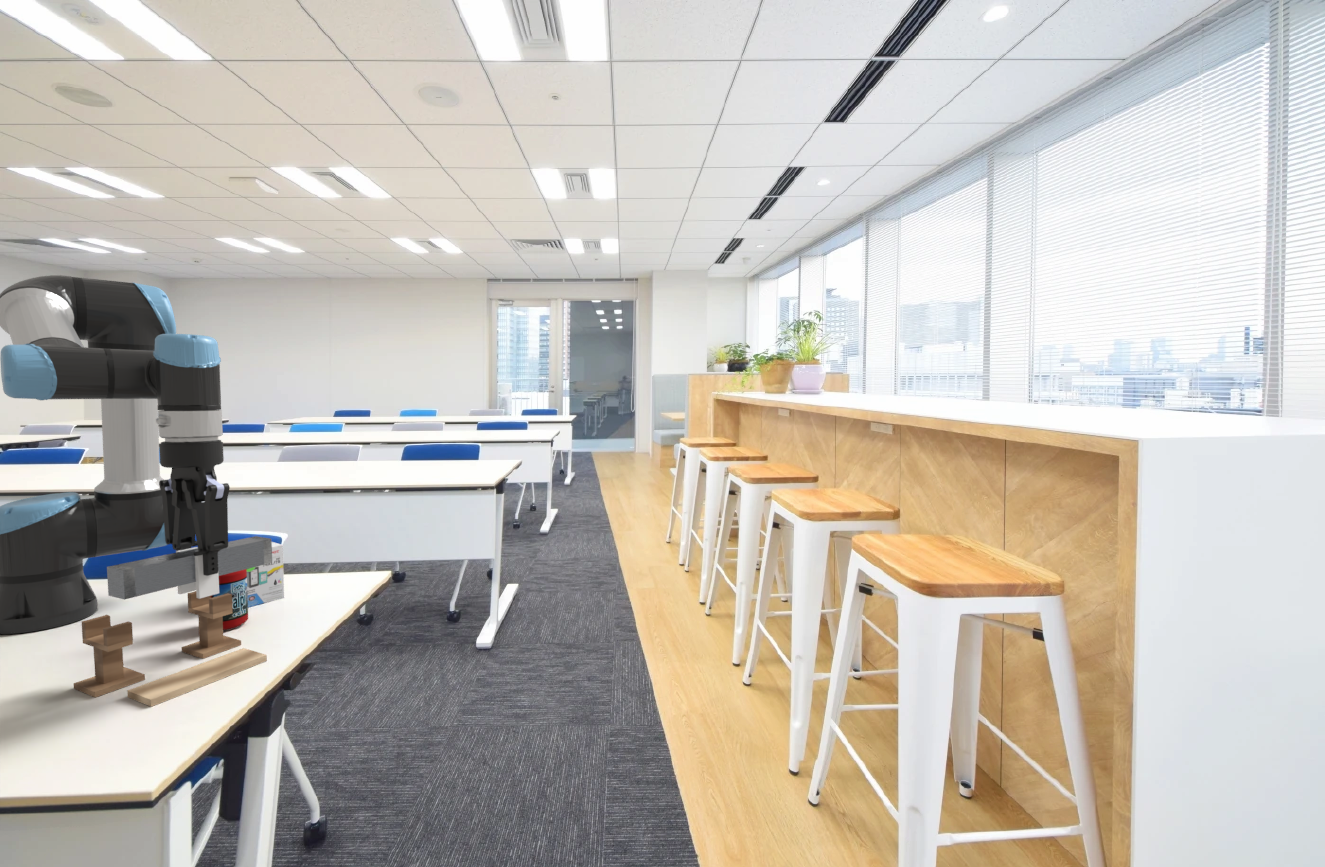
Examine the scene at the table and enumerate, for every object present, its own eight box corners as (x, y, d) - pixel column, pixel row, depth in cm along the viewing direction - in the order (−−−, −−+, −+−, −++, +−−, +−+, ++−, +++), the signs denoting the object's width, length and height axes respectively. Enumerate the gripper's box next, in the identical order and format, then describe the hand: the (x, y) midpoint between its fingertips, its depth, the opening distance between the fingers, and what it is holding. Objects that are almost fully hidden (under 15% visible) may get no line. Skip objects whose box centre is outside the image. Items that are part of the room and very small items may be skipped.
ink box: (241, 610, 121) (239, 552, 121) (219, 602, 126) (217, 546, 125) (285, 597, 129) (283, 543, 128) (263, 590, 133) (261, 538, 132)
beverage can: (225, 634, 109) (222, 569, 108) (194, 631, 110) (191, 566, 110) (257, 621, 116) (255, 559, 115) (227, 618, 117) (225, 556, 116)
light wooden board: (127, 697, 87) (127, 690, 87) (243, 653, 101) (243, 647, 101) (151, 706, 84) (150, 699, 84) (266, 660, 99) (266, 654, 99)
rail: (108, 595, 83) (106, 566, 83) (256, 559, 102) (255, 536, 101) (124, 599, 82) (122, 570, 82) (272, 562, 100) (271, 538, 100)
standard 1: (71, 687, 89) (68, 625, 89) (121, 671, 95) (118, 611, 94) (97, 698, 87) (93, 633, 86) (146, 680, 92) (143, 619, 91)
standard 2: (179, 651, 102) (177, 596, 101) (218, 638, 108) (216, 585, 107) (204, 659, 99) (202, 602, 99) (243, 645, 105) (241, 591, 104)
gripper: (129, 439, 90) (137, 592, 92) (197, 443, 83) (205, 609, 85) (186, 435, 97) (192, 579, 99) (253, 439, 90) (259, 593, 92)
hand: (198, 593), depth 92 cm, fingers closed on rail, 4 cm apart
